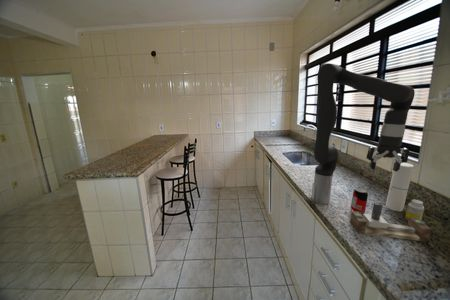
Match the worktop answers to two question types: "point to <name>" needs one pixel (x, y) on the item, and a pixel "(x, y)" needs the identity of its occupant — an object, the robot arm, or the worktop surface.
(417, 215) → the supplement bottle
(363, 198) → the beverage can
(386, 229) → the rail
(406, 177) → the cylindrical container
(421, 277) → the worktop surface
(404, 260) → the worktop surface
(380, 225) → the carriage
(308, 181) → the worktop surface
